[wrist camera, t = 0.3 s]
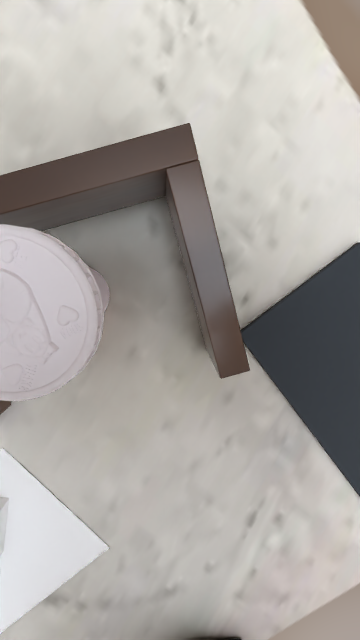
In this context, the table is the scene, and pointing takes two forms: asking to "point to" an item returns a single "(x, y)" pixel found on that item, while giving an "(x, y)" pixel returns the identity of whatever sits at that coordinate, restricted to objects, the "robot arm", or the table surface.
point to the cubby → (129, 189)
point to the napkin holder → (36, 542)
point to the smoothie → (45, 313)
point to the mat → (319, 356)
